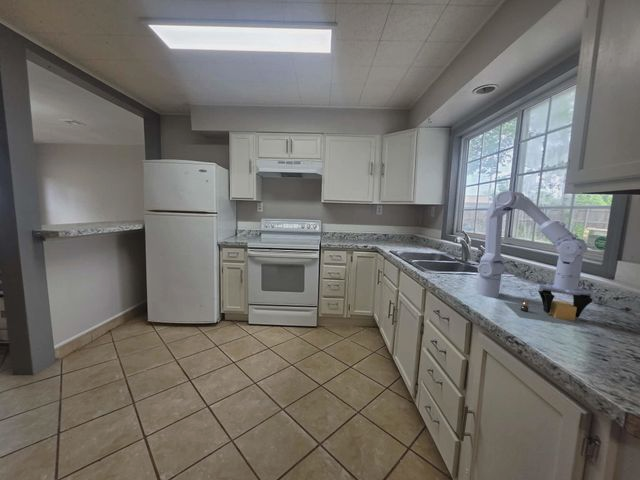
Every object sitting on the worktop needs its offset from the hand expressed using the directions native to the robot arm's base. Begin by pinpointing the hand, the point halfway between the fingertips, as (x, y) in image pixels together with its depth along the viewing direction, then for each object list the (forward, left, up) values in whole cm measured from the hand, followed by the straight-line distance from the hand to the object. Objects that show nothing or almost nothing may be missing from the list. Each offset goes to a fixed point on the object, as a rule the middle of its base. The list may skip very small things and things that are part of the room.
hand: (560, 314), depth 82 cm
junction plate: (0, -5, -2) cm, 5 cm away
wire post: (0, -10, -1) cm, 10 cm away
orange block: (0, 0, -1) cm, 1 cm away
